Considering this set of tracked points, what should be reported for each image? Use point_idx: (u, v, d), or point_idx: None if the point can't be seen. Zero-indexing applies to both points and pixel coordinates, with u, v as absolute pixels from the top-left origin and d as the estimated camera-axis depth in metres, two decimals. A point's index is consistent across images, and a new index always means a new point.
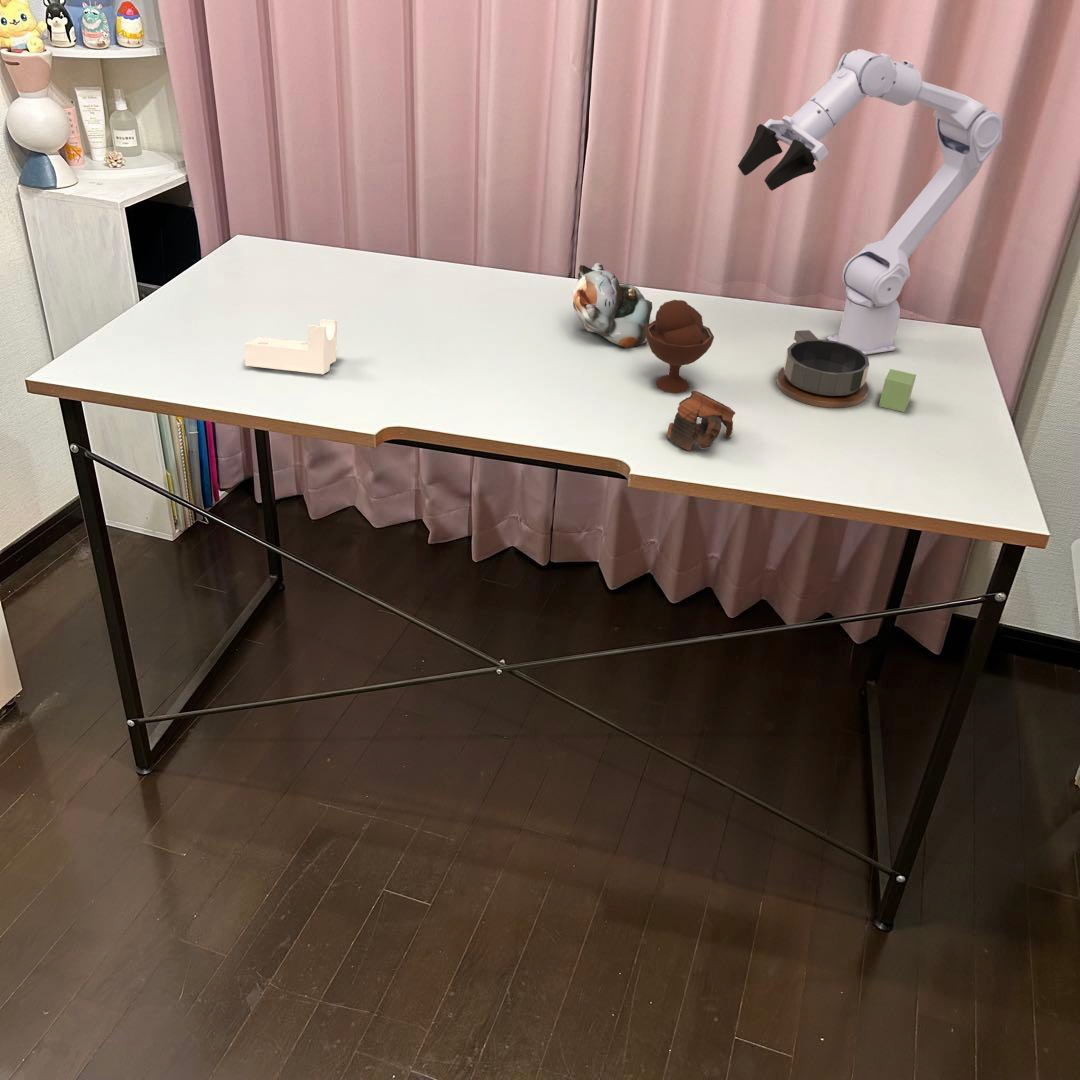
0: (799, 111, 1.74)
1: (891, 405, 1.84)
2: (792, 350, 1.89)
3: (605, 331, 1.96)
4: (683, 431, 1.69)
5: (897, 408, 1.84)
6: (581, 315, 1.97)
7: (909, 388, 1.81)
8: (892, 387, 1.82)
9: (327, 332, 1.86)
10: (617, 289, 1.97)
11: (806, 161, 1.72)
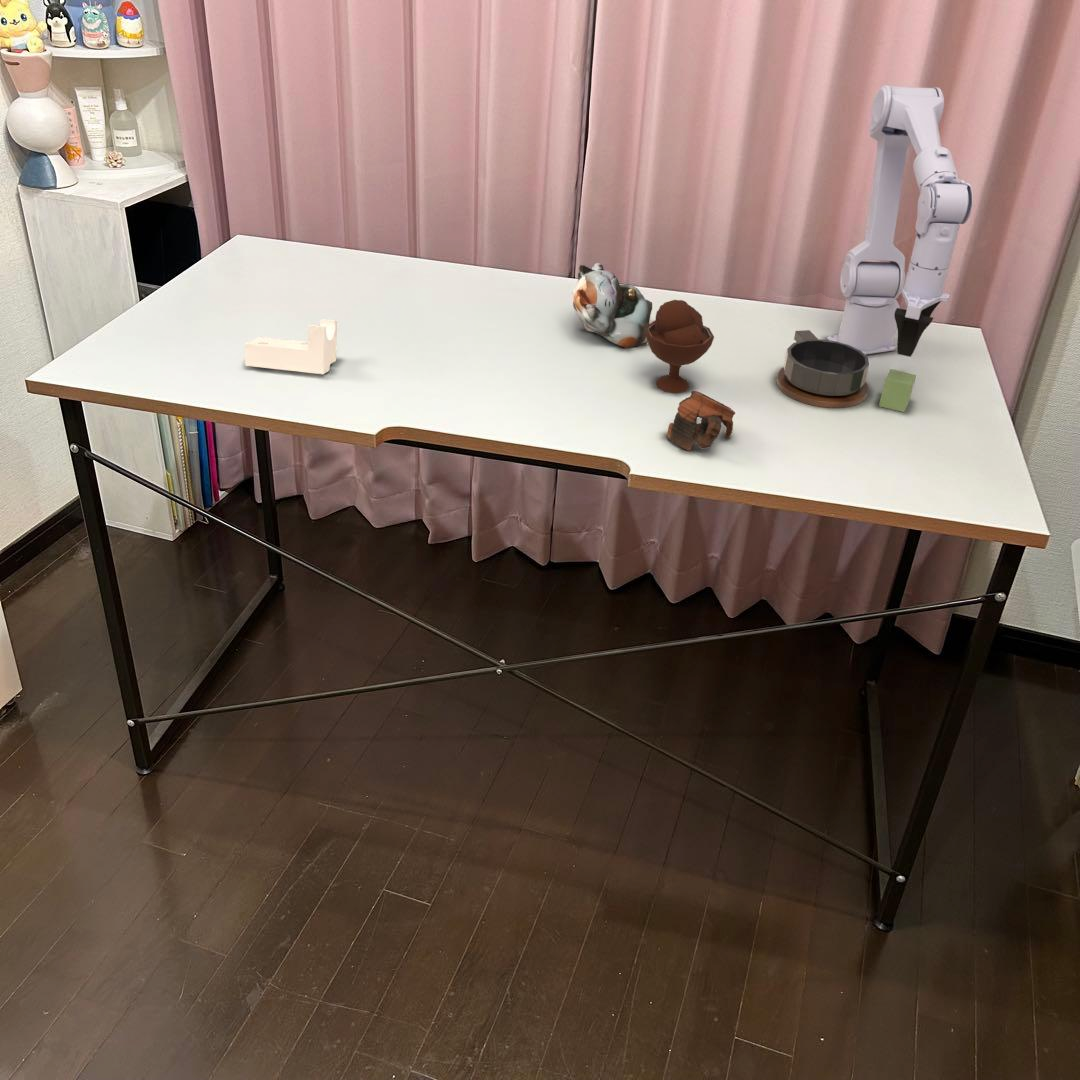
0: (943, 282, 1.72)
1: (891, 405, 1.84)
2: (792, 350, 1.89)
3: (605, 331, 1.96)
4: (683, 431, 1.69)
5: (897, 408, 1.84)
6: (581, 315, 1.97)
7: (909, 388, 1.81)
8: (892, 387, 1.82)
9: (327, 332, 1.86)
10: (617, 289, 1.97)
11: None
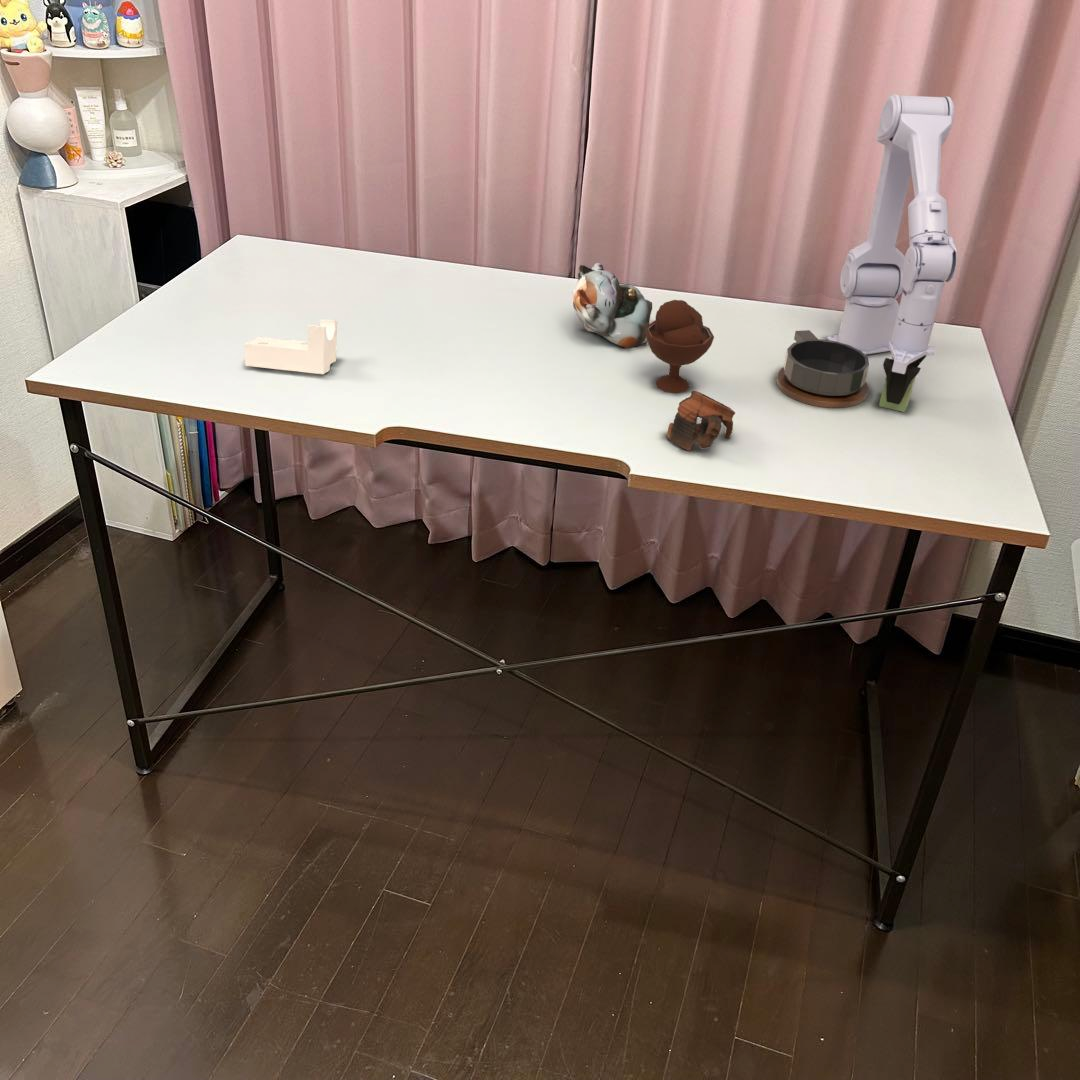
0: (929, 337, 1.77)
1: (891, 405, 1.84)
2: (792, 350, 1.89)
3: (605, 331, 1.96)
4: (683, 431, 1.69)
5: (897, 408, 1.84)
6: (581, 315, 1.97)
7: (909, 388, 1.81)
8: None
9: (327, 332, 1.86)
10: (617, 289, 1.97)
11: None
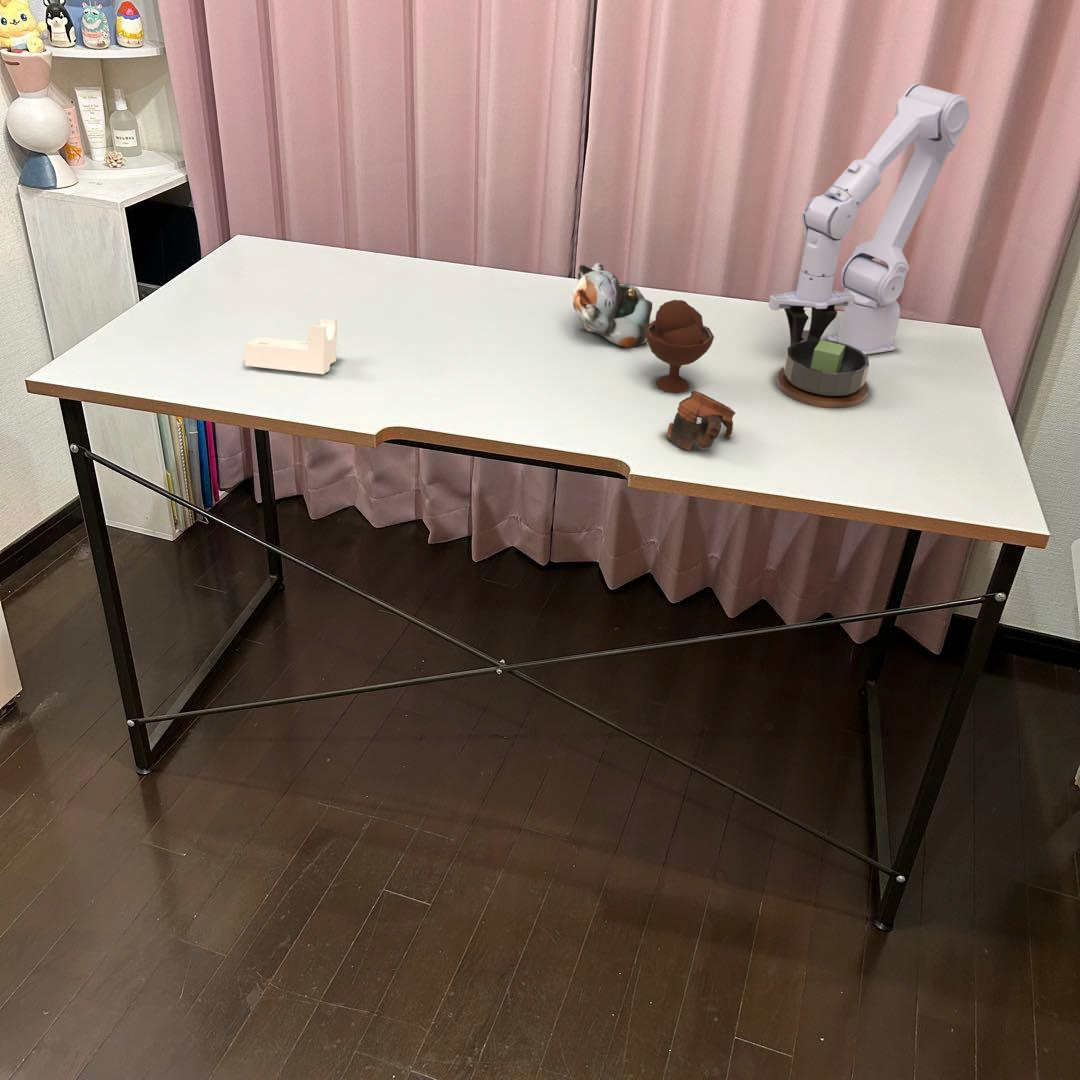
0: (819, 290, 1.87)
1: None
2: (792, 350, 1.89)
3: (605, 331, 1.96)
4: (683, 431, 1.69)
5: None
6: (581, 315, 1.97)
7: (837, 358, 1.84)
8: (820, 358, 1.85)
9: (327, 332, 1.86)
10: (617, 289, 1.97)
11: None
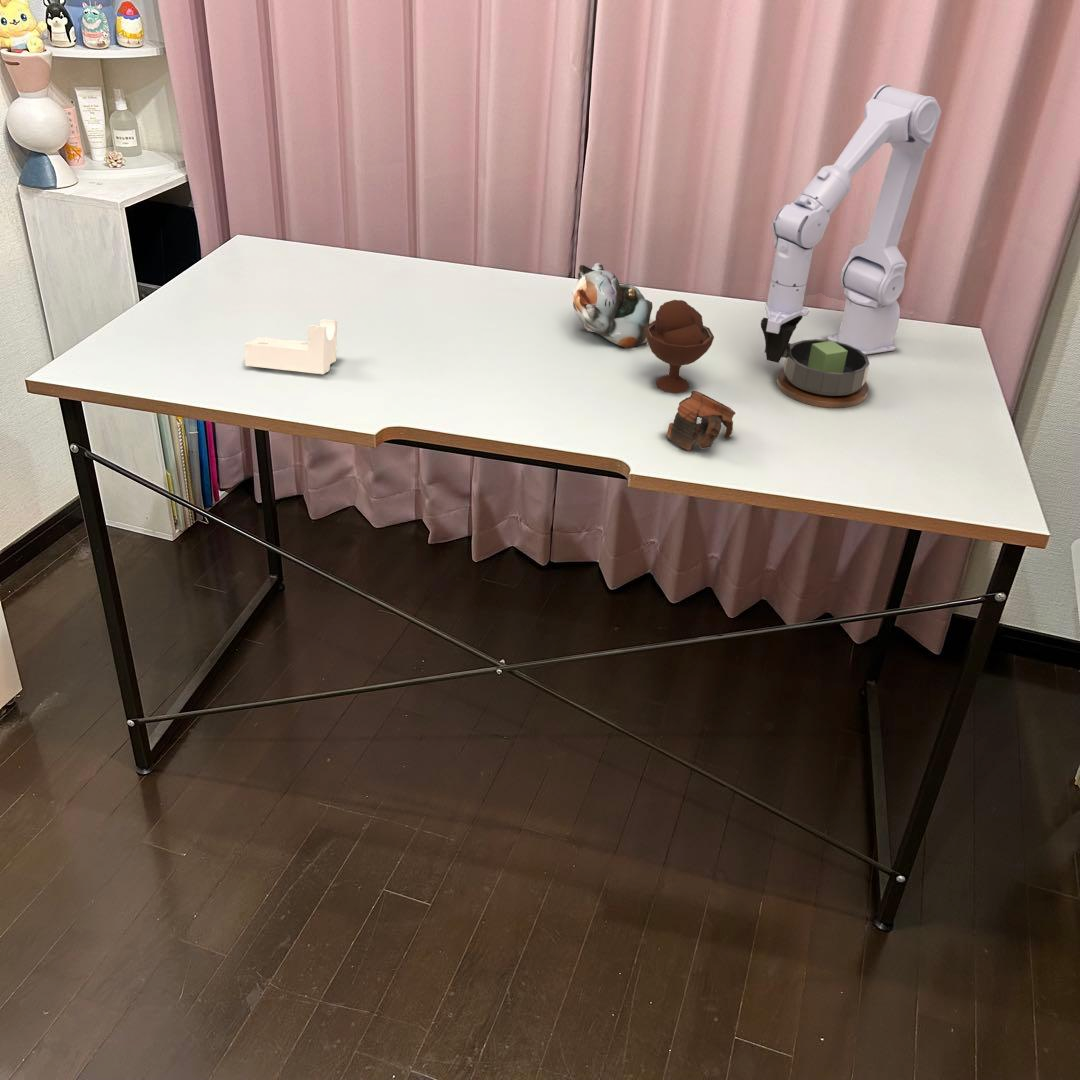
0: (802, 298, 1.84)
1: None
2: None
3: (605, 331, 1.96)
4: (683, 431, 1.69)
5: None
6: (581, 315, 1.97)
7: (846, 355, 1.85)
8: (832, 360, 1.85)
9: (327, 332, 1.86)
10: (617, 289, 1.97)
11: None
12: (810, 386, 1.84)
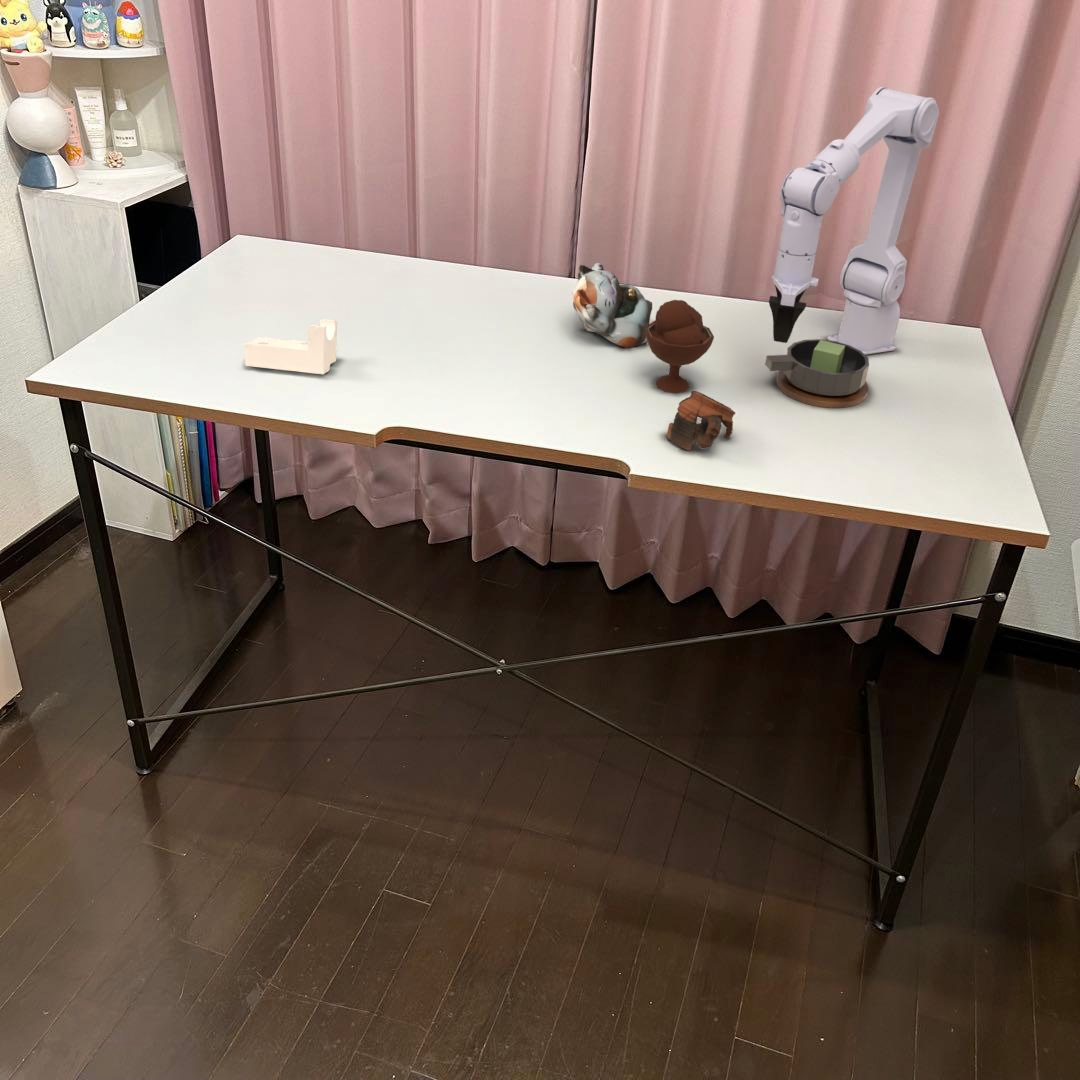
0: (812, 267, 1.75)
1: None
2: None
3: (605, 331, 1.96)
4: (683, 431, 1.69)
5: None
6: (581, 315, 1.97)
7: None
8: (839, 359, 1.85)
9: (327, 332, 1.86)
10: (617, 289, 1.97)
11: None
12: (838, 390, 1.83)
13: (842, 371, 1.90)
